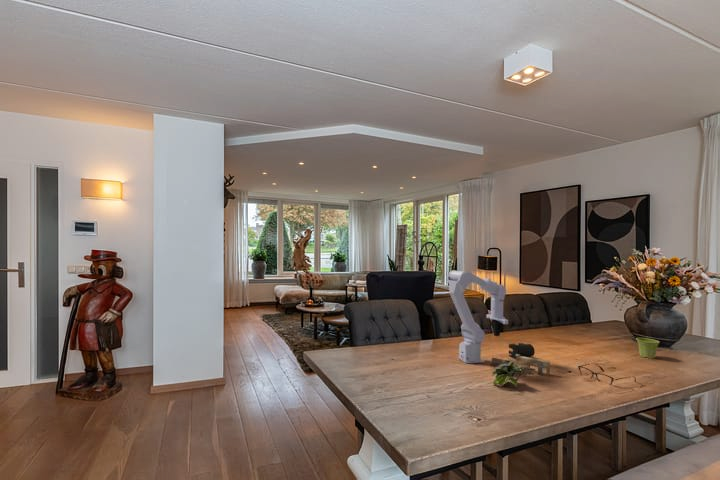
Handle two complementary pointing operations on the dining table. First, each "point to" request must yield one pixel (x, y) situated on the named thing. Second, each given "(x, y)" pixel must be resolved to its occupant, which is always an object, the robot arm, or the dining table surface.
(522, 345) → the end cap
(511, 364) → the leafy green plant
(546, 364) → the hinged leg
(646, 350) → the plant pot
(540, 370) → the stool base
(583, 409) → the dining table surface
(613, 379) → the eyeglasses
